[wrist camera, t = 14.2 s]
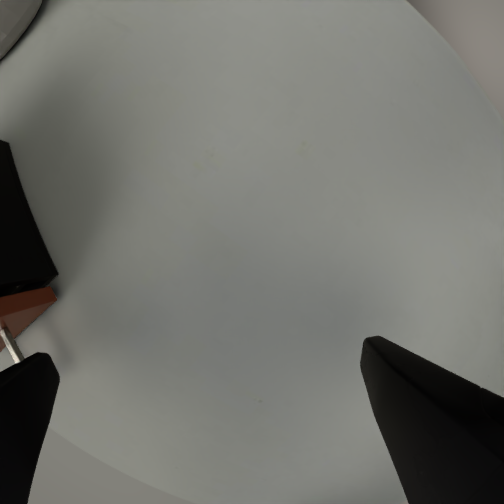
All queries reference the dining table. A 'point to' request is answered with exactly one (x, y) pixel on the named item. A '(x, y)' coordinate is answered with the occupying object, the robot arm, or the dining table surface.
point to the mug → (15, 21)
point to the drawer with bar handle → (20, 313)
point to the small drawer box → (19, 234)
